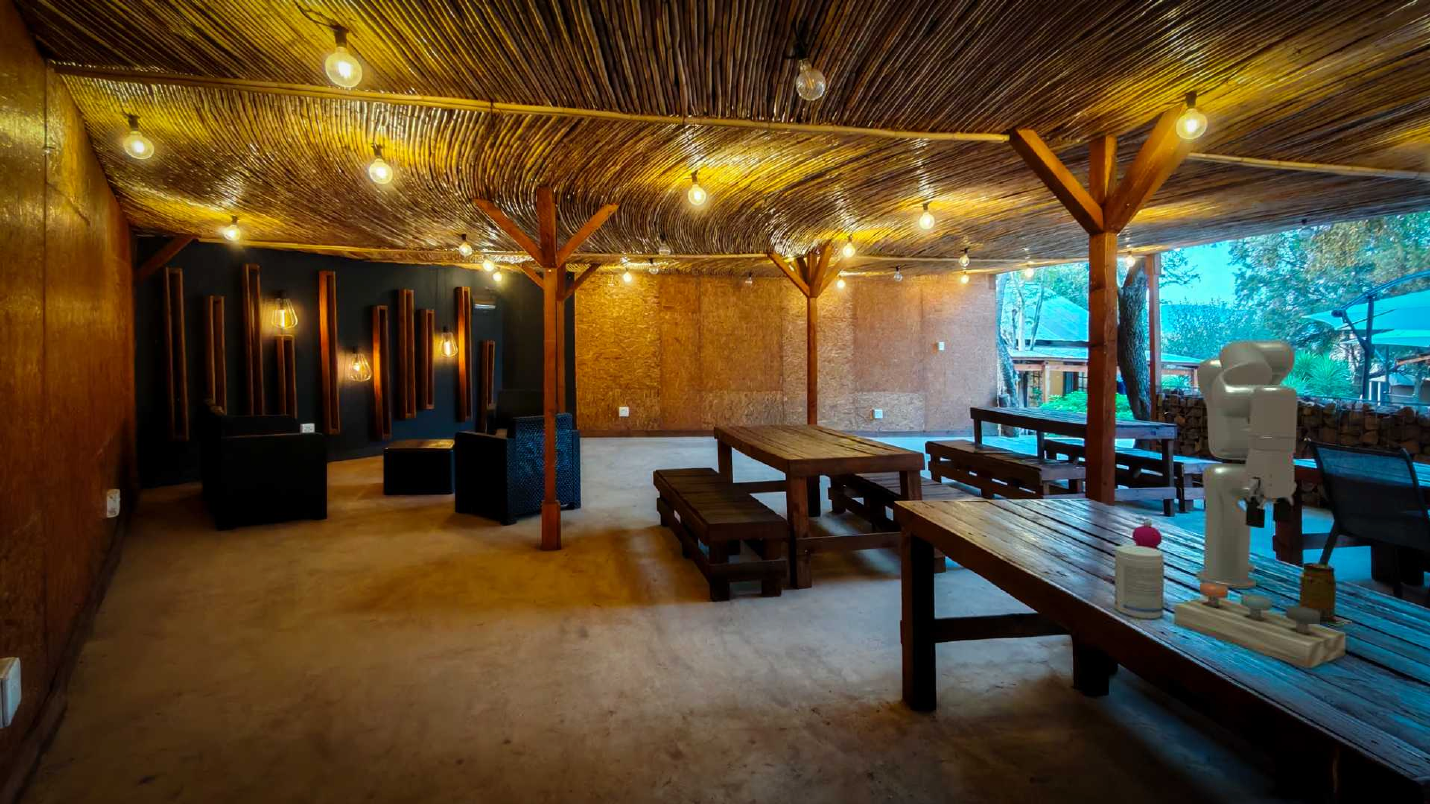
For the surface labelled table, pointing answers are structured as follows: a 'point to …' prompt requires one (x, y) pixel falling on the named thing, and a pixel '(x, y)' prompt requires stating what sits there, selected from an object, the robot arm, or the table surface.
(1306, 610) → the button charcoal
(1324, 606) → the condiment
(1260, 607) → the button teal
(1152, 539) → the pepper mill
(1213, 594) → the button vermilion
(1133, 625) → the table surface
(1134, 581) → the supplement tub
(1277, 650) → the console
